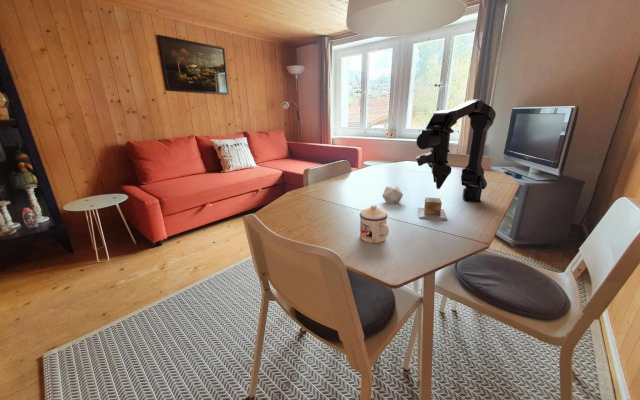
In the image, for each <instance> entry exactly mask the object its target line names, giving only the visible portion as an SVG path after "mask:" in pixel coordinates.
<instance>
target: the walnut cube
mask: <svg viewBox="0 0 640 400" xmlns="http://www.w3.org/2000/svg"><path fill="white" fill-rule="evenodd" d="M423 208H424V211H425V215H436V216H440V213H441V209H442V200H441V198H440V197H428V196H427V197H425V199H424V207H423Z"/></svg>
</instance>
